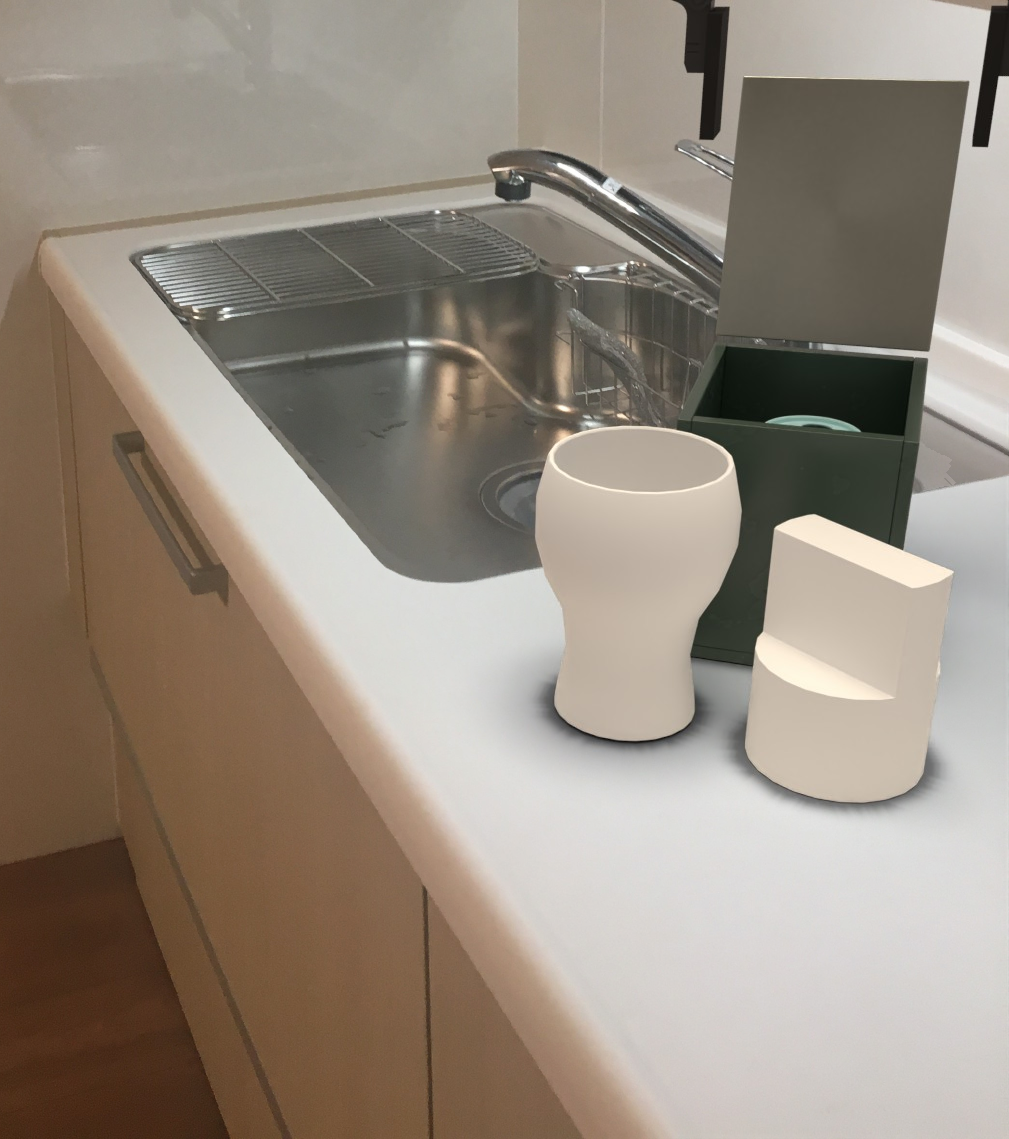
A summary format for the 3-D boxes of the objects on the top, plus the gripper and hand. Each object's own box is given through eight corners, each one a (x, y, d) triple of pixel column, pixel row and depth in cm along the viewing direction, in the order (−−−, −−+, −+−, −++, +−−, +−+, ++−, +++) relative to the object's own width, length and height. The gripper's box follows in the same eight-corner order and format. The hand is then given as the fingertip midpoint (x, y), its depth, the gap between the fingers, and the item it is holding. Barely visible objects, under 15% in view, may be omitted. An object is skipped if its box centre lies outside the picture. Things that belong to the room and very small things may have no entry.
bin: (882, 685, 89) (919, 442, 82) (658, 651, 93) (677, 419, 86) (895, 576, 101) (928, 357, 94) (696, 551, 105) (715, 340, 99)
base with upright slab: (961, 765, 81) (998, 557, 76) (843, 823, 77) (874, 607, 72) (823, 693, 88) (849, 498, 83) (708, 743, 84) (728, 541, 79)
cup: (569, 644, 94) (580, 410, 88) (744, 684, 89) (770, 440, 82) (498, 727, 86) (504, 476, 79) (686, 776, 81) (710, 513, 74)
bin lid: (969, 80, 89) (969, 81, 90) (743, 76, 94) (744, 76, 94) (929, 352, 94) (929, 350, 94) (714, 335, 98) (716, 334, 99)
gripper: (609, -304, 75) (591, 145, 84) (1200, -349, 66) (1107, 160, 75) (638, -298, 81) (619, 120, 90) (1182, -338, 72) (1098, 131, 81)
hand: (840, 139), depth 83 cm, fingers open, 13 cm apart
